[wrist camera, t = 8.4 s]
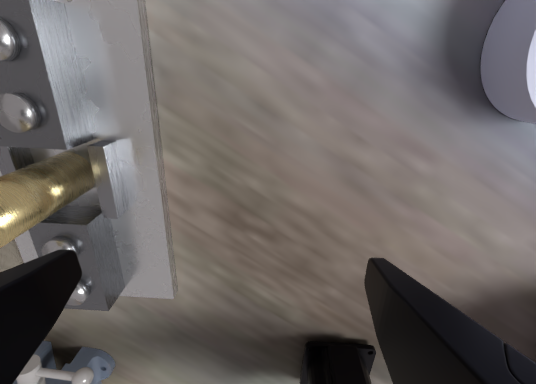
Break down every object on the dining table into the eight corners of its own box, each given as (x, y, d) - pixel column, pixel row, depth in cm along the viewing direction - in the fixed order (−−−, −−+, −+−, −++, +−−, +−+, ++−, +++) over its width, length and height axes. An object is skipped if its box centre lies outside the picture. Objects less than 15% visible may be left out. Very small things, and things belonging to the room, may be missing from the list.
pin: (99, 193, 20) (13, 254, 13) (57, 191, 20) (-48, 250, 13) (90, 153, 18) (-9, 198, 12) (46, 150, 19) (-77, 194, 12)
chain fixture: (177, 290, 24) (159, 330, 21) (43, 282, 25) (1, 320, 21) (143, -11, 16) (100, -36, 12) (-67, -21, 16) (-176, -48, 12)
